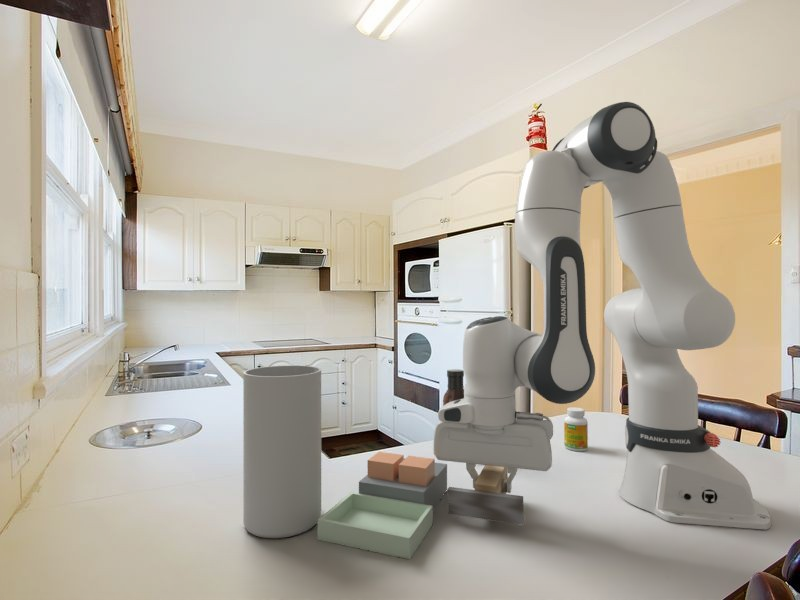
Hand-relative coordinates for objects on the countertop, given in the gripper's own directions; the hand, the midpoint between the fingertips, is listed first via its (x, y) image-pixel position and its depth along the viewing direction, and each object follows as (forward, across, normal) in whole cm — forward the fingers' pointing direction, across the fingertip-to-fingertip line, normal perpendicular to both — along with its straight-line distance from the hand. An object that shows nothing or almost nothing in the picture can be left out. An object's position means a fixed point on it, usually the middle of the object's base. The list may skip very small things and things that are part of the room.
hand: (492, 489), depth 80 cm
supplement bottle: (+5, -13, -42) cm, 44 cm away
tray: (+3, +16, +14) cm, 21 cm away
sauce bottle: (+4, +14, -27) cm, 31 cm away
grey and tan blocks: (+2, 0, 0) cm, 2 cm away
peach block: (-2, +13, +4) cm, 13 cm away
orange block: (-2, +19, +4) cm, 19 cm away
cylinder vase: (+3, +32, +17) cm, 36 cm away
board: (+3, +16, +2) cm, 16 cm away
